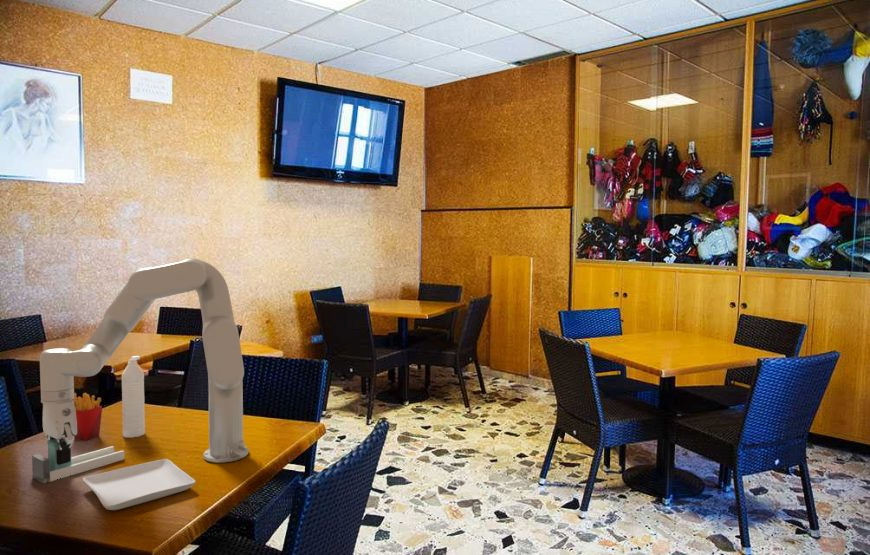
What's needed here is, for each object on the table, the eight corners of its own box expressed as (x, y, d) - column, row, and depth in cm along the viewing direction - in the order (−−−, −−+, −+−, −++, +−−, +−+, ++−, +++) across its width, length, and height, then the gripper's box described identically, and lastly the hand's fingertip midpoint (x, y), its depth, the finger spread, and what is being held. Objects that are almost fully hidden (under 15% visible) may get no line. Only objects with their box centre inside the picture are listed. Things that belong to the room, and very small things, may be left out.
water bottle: (142, 437, 189) (141, 360, 187) (120, 438, 187) (118, 361, 185) (148, 428, 197) (147, 355, 195) (127, 430, 195) (125, 356, 194)
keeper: (71, 468, 159) (70, 439, 159) (55, 473, 156) (54, 443, 155) (64, 465, 162) (63, 436, 161) (48, 470, 158) (47, 440, 158)
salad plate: (197, 493, 150) (197, 480, 149) (106, 520, 135) (105, 505, 134) (166, 468, 165) (166, 456, 164) (81, 490, 150) (80, 477, 150)
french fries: (88, 433, 192) (87, 388, 191) (107, 436, 189) (106, 390, 188) (63, 442, 183) (62, 394, 182) (82, 445, 181) (81, 397, 180)
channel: (124, 459, 170) (123, 439, 170) (43, 483, 153) (43, 461, 152) (112, 454, 174) (112, 434, 173) (32, 477, 156) (32, 455, 156)
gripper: (87, 397, 156) (89, 464, 157) (58, 387, 165) (60, 450, 167) (56, 403, 150) (58, 473, 151) (28, 392, 159) (30, 458, 160)
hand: (59, 460), depth 159 cm, fingers closed on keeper, 4 cm apart
